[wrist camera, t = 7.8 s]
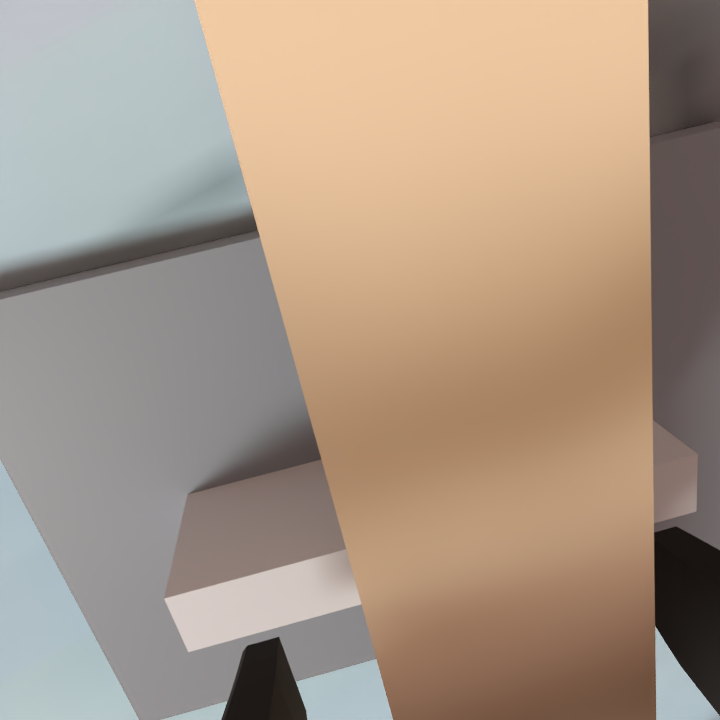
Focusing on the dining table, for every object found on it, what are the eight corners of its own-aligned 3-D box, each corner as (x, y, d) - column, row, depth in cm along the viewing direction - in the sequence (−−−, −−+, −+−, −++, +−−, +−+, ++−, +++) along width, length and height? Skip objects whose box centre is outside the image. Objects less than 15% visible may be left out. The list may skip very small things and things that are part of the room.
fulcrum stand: (715, 121, 15) (907, 117, 11) (703, 536, 21) (826, 652, 16) (-49, 303, 14) (-202, 385, 10) (149, 691, 20) (112, 863, 15)
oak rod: (554, 818, 17) (660, 1072, 13) (440, 853, 17) (505, 1123, 12) (444, -62, 9) (645, -285, 4) (212, -12, 8) (143, -187, 4)
